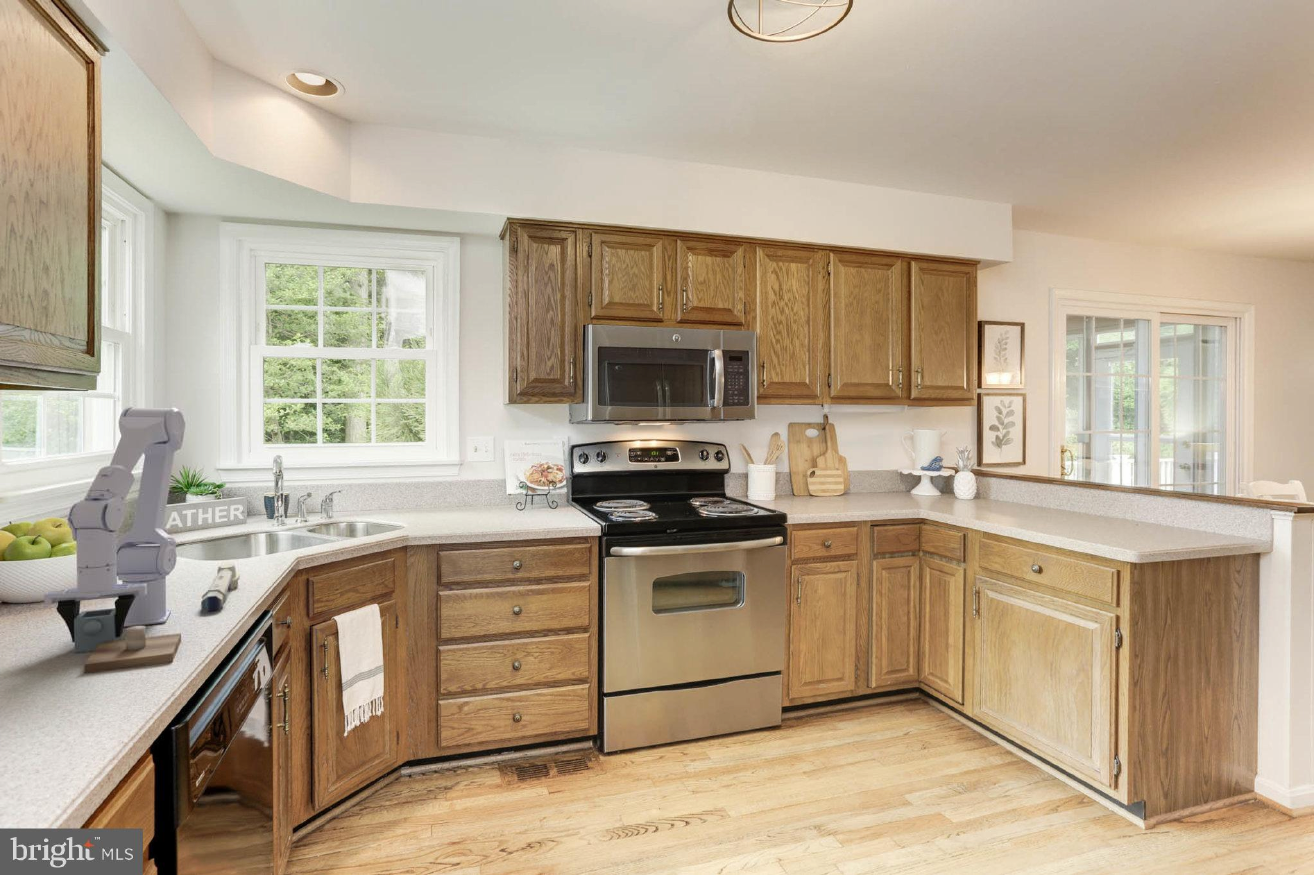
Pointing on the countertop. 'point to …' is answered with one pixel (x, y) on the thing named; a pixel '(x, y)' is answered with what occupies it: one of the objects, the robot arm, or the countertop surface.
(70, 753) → the countertop surface
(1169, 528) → the countertop surface
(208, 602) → the beige flashlight
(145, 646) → the base
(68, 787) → the countertop surface
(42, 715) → the countertop surface
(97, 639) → the duct sleeve
